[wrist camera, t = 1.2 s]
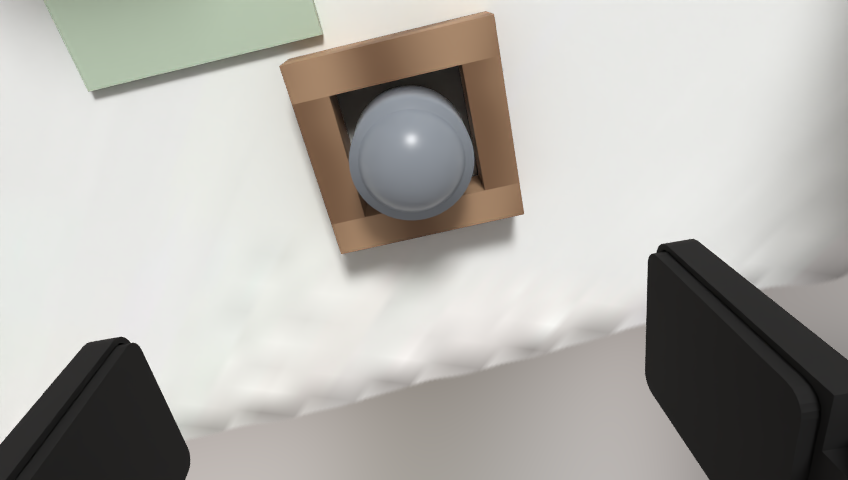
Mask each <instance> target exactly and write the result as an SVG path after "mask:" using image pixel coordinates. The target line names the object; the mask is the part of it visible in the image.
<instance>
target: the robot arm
mask: <svg viewBox="0 0 848 480" xmlns="http://www.w3.org/2000/svg"><path fill="white" fill-rule="evenodd" d="M645 375H646V380H647V384H648V386H649V389H650V391H651V392H652V394H653V396H654V397H655V399H656V400H657V402H658V403H659V405H660V406H661V408H662V409H663V411H664V412H665V414H666V415H667V416H668V418H669V420H670V421H671V423H672V424H673V426H674V427H675V429H676V430H677V432H678V433H679V435H680V436H681V438H682V439H683V441H684V442H685V444H686V445H687V447H688V448H689V450H690V451H691V453H692V454H693V456H694V457H695V458H696V460H697V461H698V463H699V465H700V466H701V468H702V469H703V471H704V472H705V474H706V475H707V477H708V478H709V480H848V360H847V359H846V358H844V357H843V356H842V355H841V354H840V353H838V352H837V351H836V350H834V349H833V348H832V347H831V346H829V345H828V344H827V343H826V342H824V341H823V340H822V339H821V338H819V337H818V336H817V335H816V334H814V333H813V332H812V331H810V330H809V329H808V328H807V327H805V326H804V325H803V324H802V323H800V322H799V321H798V320H797V319H795V318H794V317H793V316H792V315H790V314H789V313H788V312H787V311H785V310H784V309H783V308H782V307H780V306H779V305H778V304H777V303H775V302H774V301H773V300H772V299H770V298H769V297H767V296H766V295H765V294H764V293H763V292H761V291H760V290H759V289H758V288H756V287H755V286H754V285H753V284H751V283H750V282H749V281H748V280H746V279H745V278H744V277H743V276H741V275H740V274H739V273H738V272H736V271H735V270H734V269H732V268H731V267H730V266H729V265H727V264H726V263H725V262H724V261H722V260H721V259H720V258H719V257H717V256H716V255H715V254H714V253H712V252H711V251H710V250H709V249H707V248H706V247H705V246H704V245H702V244H701V243H700V242H698V241H697V240H695V239H689V240H683V241H677V242H671V243H665V244H661V245H660V246H659V247H658V249H657V253H654V254H651V255H650V256H649V259H648V279H647V318H646V357H645ZM189 468H190V453H189V450H188V447H187V445H186V443H185V441H184V439H183V437H182V435H181V432H180V430H179V428H178V426H177V424H176V422H175V420H174V418H173V415H172V413H171V411H170V409H169V407H168V405H167V403H166V401H165V399H164V396H163V394H162V392H161V390H160V388H159V386H158V384H157V382H156V379H155V377H154V375H153V373H152V371H151V369H150V367H149V365H148V362H147V360H146V358H145V356H144V354H143V352H142V350H141V348H140V347H139V345H137V344H136V343H130V341H129V340H127V339H126V338H124V337H117V338H111V339H105V340H99V341H94V342H89V343H87V344H86V345H84V346H83V347H82V349H81V350H80V351H79V352H78V353H77V355H76V356H75V357H74V358H73V359H72V360H71V362H70V363H69V364H68V365H67V366H66V368H65V369H64V370H63V371H62V372H61V373H60V375H59V376H58V377H57V378H56V379H55V380H54V382H53V383H52V384H51V385H50V386H49V388H48V389H47V390H46V391H45V392H44V393H43V395H42V396H41V397H40V398H39V399H38V401H37V402H36V403H35V404H34V405H33V406H32V408H31V409H30V410H29V411H28V412H27V414H26V415H25V416H24V417H23V418H22V419H21V421H20V422H19V423H18V424H17V425H16V426H15V428H14V429H13V430H12V431H11V432H10V434H9V435H8V436H7V437H6V438H5V439H4V441H3V442H2V443H1V444H0V480H185V478H186V476H187V473H188V471H189Z"/></svg>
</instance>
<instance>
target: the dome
mask: <svg viewBox="0 0 848 480" xmlns="http://www.w3.org/2000/svg"><path fill="white" fill-rule="evenodd" d="M349 169H350V173H351V178H352V180H353V183H354V185H355V187H356V189H357V191H358V192H359V194H360V195H361V197H362V198H363V199H364V200H365V201H366V202H367V203H368V204H369V205H370V206H371V207H373V208H374V209H376V210H377V211H379V212H380V213H382V214H384V215H387V216H389V217H392V218H396V219H401V220H422V219H427V218H430V217H434V216H436V215H438V214H441V213H442V212H444V211H446V210H447V209H449V208H450V207H451V206H453V205H454V204H455V203H456V202H457V201H458V200H459V199H460V198H461V196H462V195H463V194H464V192H465V191H466V189H467V187H468V185H469V183H470V181H471V178H472V174H473V169H474V150H473V145H472V142H471V139H470V137H469V134H468V132H467V130H466V128H465V125H464V123H463V121H462V119H461V117H460V115H459V113H458V111H457V110H456V108H455V107H454V106H453V104H452V103H451V102H450V101H449V100H448V99H447V98H445V97H444V96H443V95H441V94H440V93H438V92H436V91H434V90H432V89H429V88H426V87H422V86H415V85H404V86H398V87H394V88H391V89H388V90H386V91H384V92H382V93H381V94H379V95H378V96H376V97H375V98H374V99H373V100H371V101H370V102H369V104H368V105H367V106H366V107H365V109H364V110H363V111H362V113H361V115H360V117H359V119H358V122H357V125H356V128H355V132H354V136H353V139H352V143H351V147H350V152H349Z"/></svg>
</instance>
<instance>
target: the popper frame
mask: <svg viewBox="0 0 848 480" xmlns="http://www.w3.org/2000/svg"><path fill="white" fill-rule="evenodd" d="M454 66H459V72H460V77H461V82H462V88H463V93H464V99H465V104H466V109H467V115H468V120H469V126H470V131H471V136H472V142H473V147H474V152H475V158H476V163H477V169H478V174H479V175H477V176H472V178H471V181H470V183H469V185H468V187H467V189H466V191H465V192H464V194H463V195H462V196H461V198H460V199H459V200H458V201H457V202H456V203H455V204H454V205H453V206H451V207H450V208H449V209H447V210H446V211H444V212H442V213H441V214H438V215H436V216H434V217H430V218H427V219H422V220H401V219H396V218H392V217H389V216H387V215H384V214H382V213H380V212H379V211H377V210H376V209H374V208H373V207H371V206H370V205H369V204H368V203H367V202H366V201H365V200H364V199H363V198H362V197H361V195H360V194H359V192H358V191H357V189H356V187H355V185H354V183H353V180H352V178H351V173H350V169H349V152H350V147H351V143H350V139H349V136H348V132H347V129H346V125H345V122H344V119H343V115H342V112H341V108H340V105H339V101H338V98H337V95H336V94H340V93H344V92H348V91H353V90H357V89H361V88H365V87H370V86H374V85H378V84H382V83H386V82H391V81H395V80H399V79H403V78H407V77H412V76H416V75H420V74H424V73H428V72H433V71H437V70H441V69H445V68H450V67H454ZM279 67H280V70H281V73H282V76H283V79H284V82H285V85H286V88H287V91H288V94H289V97H290V100H291V103H292V106H293V109H294V112H295V115H296V118H297V121H298V124H299V127H300V130H301V133H302V136H303V139H304V142H305V145H306V148H307V151H308V155H309V158H310V161H311V164H312V167H313V170H314V173H315V176H316V179H317V182H318V185H319V188H320V191H321V194H322V197H323V200H324V203H325V206H326V209H327V212H328V215H329V218H330V221H331V224H332V227H333V230H334V233H335V236H336V239H337V242H338V245H339V248H340V251H341V254H345V253H349V252H354V251H358V250H363V249H367V248H372V247H377V246H381V245H386V244H390V243H395V242H399V241H404V240H408V239H413V238H418V237H422V236H427V235H431V234H436V233H440V232H445V231H449V230H454V229H458V228H463V227H468V226H472V225H477V224H481V223H486V222H490V221H495V220H499V219H504V218H508V217H513V216H518V215H522V214H524V210H523V203H522V197H521V190H520V184H519V177H518V170H517V164H516V157H515V150H514V144H513V137H512V130H511V124H510V117H509V111H508V104H507V97H506V91H505V84H504V77H503V71H502V64H501V57H500V51H499V44H498V38H497V31H496V24H495V18H494V14H492V13H489V12H487V11H485V12H481V13H477V14H473V15H468V16H464V17H460V18H456V19H452V20H448V21H444V22H440V23H435V24H431V25H427V26H423V27H419V28H415V29H411V30H407V31H402V32H398V33H394V34H390V35H386V36H382V37H378V38H374V39H369V40H365V41H361V42H357V43H353V44H349V45H345V46H341V47H336V48H332V49H328V50H324V51H320V52H316V53H312V54H308V55H303V56H299V57H295V58H291V59H288V60H287V61H286V62H284V63H283V64H282V65H280V66H279Z"/></svg>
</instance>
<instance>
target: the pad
mask: <svg viewBox="0 0 848 480" xmlns="http://www.w3.org/2000/svg"><path fill="white" fill-rule="evenodd" d="M43 1H44V3H45V5H46V7H47V9H48V11H49V13H50V15H51V17H52V19H53V21H54V23H55V25H56V27H57V29H58V31H59V33H60V35H61V37H62V39H63V41H64V43H65V45H66V47H67V49H68V51H69V53H70V55H71V57H72V59H73V61H74V63H75V65H76V67H77V69H78V71H79V73H80V76H81V78H82V80H83V82H84V84H85V86H86V88H87V90H88V92H89V91H94V90H98V89H102V88H106V87H110V86H114V85H118V84H122V83H126V82H130V81H134V80H139V79H143V78H147V77H151V76H155V75H159V74H163V73H167V72H171V71H175V70H180V69H184V68H188V67H192V66H196V65H200V64H204V63H208V62H212V61H216V60H220V59H225V58H229V57H233V56H237V55H241V54H245V53H249V52H253V51H257V50H261V49H266V48H270V47H274V46H278V45H282V44H286V43H290V42H294V41H298V40H302V39H306V38H311V37H315V36H319V35H322V34H323V32H322V28H321V25H320V21H319V18H318V14H317V11H316V8H315V4H314V1H313V0H43Z"/></svg>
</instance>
